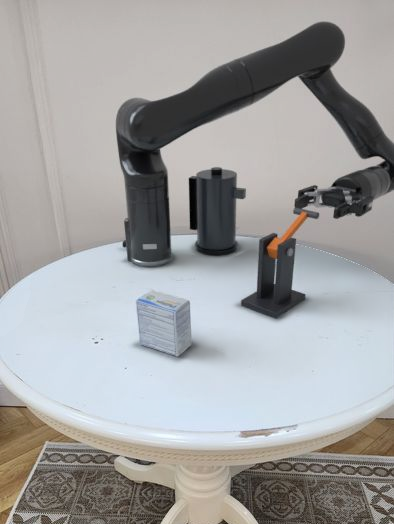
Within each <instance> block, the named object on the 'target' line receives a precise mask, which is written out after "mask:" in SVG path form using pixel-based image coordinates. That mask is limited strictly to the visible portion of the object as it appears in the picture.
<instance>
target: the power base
mask: <svg viewBox="0 0 394 524" xmlns="http://www.w3.org/2000/svg"><path fill="white" fill-rule="evenodd" d="M275 237H276V238H278V233H276V232H272V233H270V234H267V235H266V236H264V237H261V238H259V239H258V257H257V259H258V260H257V261H258V262H257V278H256V279H257V281H256V291H255V292H253V293H251V294H249V295H247V296H246V297H244V298H242V299H241V301H240V306H241V307H244V308H246V309H249V310H252V311H255V312H257V313H260V314H263V315H265V316H268V317H270V318H273V319H278V318H279V317H281V316H283V314H286V313H287V312H288V311H289V310H291V309H293V308H295V307H296V306H298V305H299V304H301V303H302V302H303V301H305V300H306V293H303V292H300V291H297V290H295V289H293V280H294V267H295V257H296V246H297V238H295V237H291V238H290V239H288V240H286V241H284V242H282V243H280V244H278V250H277V259H275V258H272V257H269V254H268V250H267V247H268V245H269V244H270V243H271V242H272V241H273V239H274V238H275Z"/></svg>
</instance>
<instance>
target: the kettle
mask: <svg viewBox="0 0 394 524" xmlns="http://www.w3.org/2000/svg"><path fill="white" fill-rule="evenodd" d="M246 196H247V188H244V187H238V173H237V172H236V171H235V170H231V169H225V168H222V167H219V166H214V167H211V168H209V169H204V170H200V171H198V172H196V174H195V175H191V176H190V177H188V207H189V230H192V231H196V241H195V243H194V246H195V247H194V248H195V251H196V252H198V253H199V254H202V255H205V256H213V257H221V256H227V255H230V254H233V253H235V252H237V250H238V241H237V240H236V238H237V237H236V236H237V235H236V233H237V225H236V224H237V200H244V199H246Z"/></svg>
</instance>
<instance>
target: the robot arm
mask: <svg viewBox="0 0 394 524" xmlns="http://www.w3.org/2000/svg"><path fill="white" fill-rule="evenodd" d="M345 48H346V37H345V33H344V32H343V30H342V29H341V28H340V26H339V25H337V24H336V23H333V22H331V21H317V22H315V23H312V24H311V25H309V26H308V27H306V28H304V29H303V30H301V31H299V32H297V33H295V34H294V35H292V36H291V37H289V38H287V39H284V40H283V41H281V42H279V43H276V44H274V45H270V46H268V47H264V48H262V49H259V50H255V51H254V52H250V53H248V54H246V55H244V56H240V57H237V58H235V59H233V60H230V61H228V62H226V63H223V64H221V65H218V66H217V67H214V68H213V69H211V70H210V71H208V72H207V73H205V74H204V75H203V76H202V77H200V78H199V79H198V80H197V81H196V82H195V83H194V84H193V85H191V86H190V87H189V88H187V89H185V90H183V91H180V92H178V93H175V94H173V95H170V96H167V97H164V98H160V99H157V100H149V99H146V98H142V97H132V98H129V99H126V100H125V101H124V102H122V104H121V105H120V106H119V108H118V110H117V113H116V116H115V136H116V144H117V152H118V159H119V161H118V162H119V166H120V169H121V172H122V175H123V182H124V192H125V202H126V204H125V205H126V215H127V217H125V219H124V220H123V225H124V226H123V227H124V236H125V240H123V241H122V248H124V249H125V248H126V256H127V257H126V258H127V261H129V262H131V263H132V264H134V265H136V266H140V267H147V268H148V267H149V268H151V267H159V266H163V265H166V264H168V263H170V262H171V261H172V260H173V252H172V251H173V250H172V233H171V232H172V231H171V212H170V211H171V209H170V187H169V170H168V168H167V166H166V164H165V162H164V160H163V156H162V153H161V149H163V148H164V147H166V146H168V145H170V144H171V143H173V142H175V141H176V140H178V139H180V138H181V137H183V136H184V135H187V134H189V133H190V132H191V131H193V130H196V129H198V128H200V127H203V126H205V125H207V124H210V123H212V122H215V121H217V120H219V119H222V118H225V117H227V116H229V115H232V114H235V113H237V112H239V111H242V110H243V109H246V108H248V107H250V106H253V105H254V104H256V103H258V102H259V101H261V100H263V99H264V98H266V97H268V96H270V95H271V94H272V93H274V92H275V91H277V90H279V88H281V87H283V86H284V85H285V84H287V83H288V82H290V81H291V80H293V79H295V78H297V77H298V79H299V80H300V82H302V84H303V85H304V86H305V87H306V88H307V89H308V90H309V92H310V93H311V94H312V95H313V96H314V97H315V98H316V99H317V101H318V102H319V103H320V104H321V106H323V108H325V110H326V111H327V112H328V114H330V115H331V117H332V118H333V119H334V120H335V122H336V124H337V125H338V126H339V128H340V129H341V131H342V132H343V133H344V135H345V138H346V139H347V140H348V142H349V144H350V145H351V146H352V148H353V150H354V151H355V153H356V154H357V156H358V158H360V159H361V160H369V159H371V158H376V157H378V158H381V159H382V160H383V161H381V162H380V163H378V164H376V165H370V166H368V167H365V168H363V169H357V170H355V171H353V172H350V173H347V174H345V175H343V176H341V177H337V179H335V180H334V181H333V182H332V184H331V185H330V186H329V187H326V188H318V187H319V186H318V185H316V184H314V185H310V186H308V187H304V188H302V189H298V191H297V198H295V199H294V208H300V209H305V208H306V207H311V206H312V207H313V206H314V207H315V208H329V209H332V208H334V209H333V216H332V218H333V219H335V220H338V219H341V218H343V217H345V216H349V217H350V216H352V214H354V215H355V217H357V218H361V217H362V216H364V215H366V214H367V213H369V212H370V211H373V204H374V201H375V200H377V199H379V198H381V197H384V196H386V195H388V194H389V193H391V192H393V191H394V142H393V141H392V140H391V139H390V138H389V137H388V135H387V134H386V133H385V131H384V129H383V128H382V126H381V124H380V122H379V121H378V120H377V118H376V116H375V115H374V113H373V112H372V111H371V109H370V108H368V107H367V105H365V104H364V103H363V102H362V101H360V100H359V99H357V98H356V97H355V96H353V95H352V94H351V93H349V91H347V90H346V89H345V88H344V87H343V86H342V85H341V84H340V83H339V81H338V80H337V79H336V77H335V75H334V73H333V71H332V68H333V67H334V66H335V65H336V64H337V63H338V62H339V61H340V59H341V58H342V56H343V53H344V50H345ZM320 199H321V202H320Z"/></svg>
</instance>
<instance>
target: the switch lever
mask: <svg viewBox="0 0 394 524" xmlns="http://www.w3.org/2000/svg"><path fill="white" fill-rule="evenodd" d="M292 214H293V215H296V216H297V217H296V219H295V220H294V221H293V223H291V224H290V226H289V227H288V228H287V230H286V231H285V232H284V233H283V235H282V236H280V238H278V237H277V238H276V237H275V238H274V239H273V241H272V242H271V243H270V244H269V245H268V247H267V250H268V254H269V257H272V258H275V259H276V260H277V250H278V244H280V243H282V242H284V241H286V240H288V239H290V238H293V236H294V235H295V234H296V233H297V231H298V230H299V229H300V227H301V226H302V225H303V224H304V222H305V221H306V220H307V219H308V218H309V219H310V218H311V219H315V220H318V219H319V218H320V213H319V212H317V211H313V210H309V209H305V208H302V209H300V208H295V207H294V208H293V210H292Z"/></svg>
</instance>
